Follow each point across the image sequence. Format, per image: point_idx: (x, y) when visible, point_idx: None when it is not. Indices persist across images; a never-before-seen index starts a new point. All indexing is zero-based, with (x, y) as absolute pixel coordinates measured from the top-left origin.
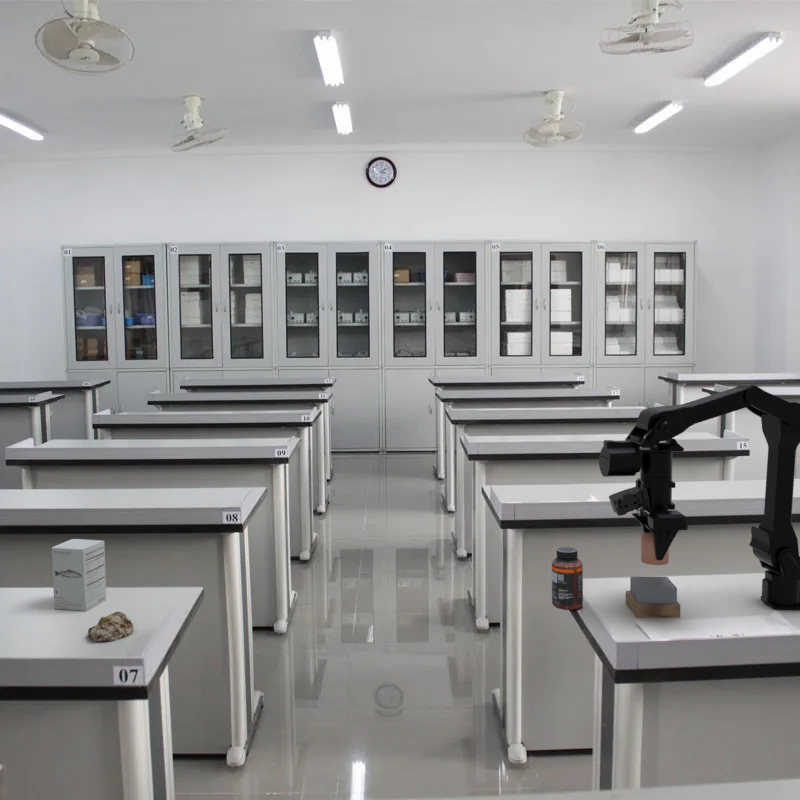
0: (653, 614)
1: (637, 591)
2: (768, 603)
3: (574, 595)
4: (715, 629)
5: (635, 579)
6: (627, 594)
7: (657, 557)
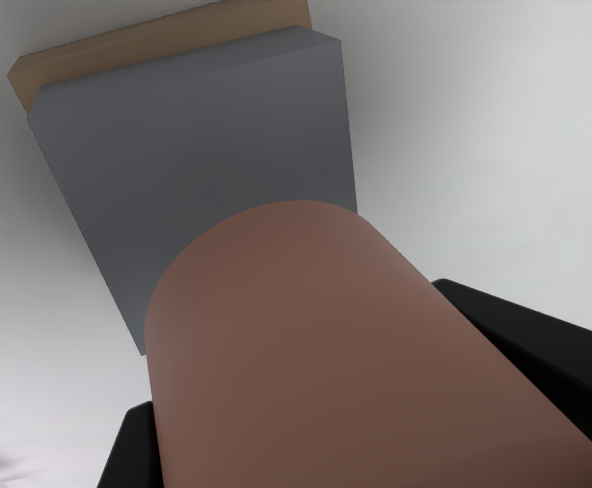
0: None
1: (80, 94)
2: None
3: None
4: (25, 403)
5: (272, 83)
6: (260, 1)
7: (123, 440)
